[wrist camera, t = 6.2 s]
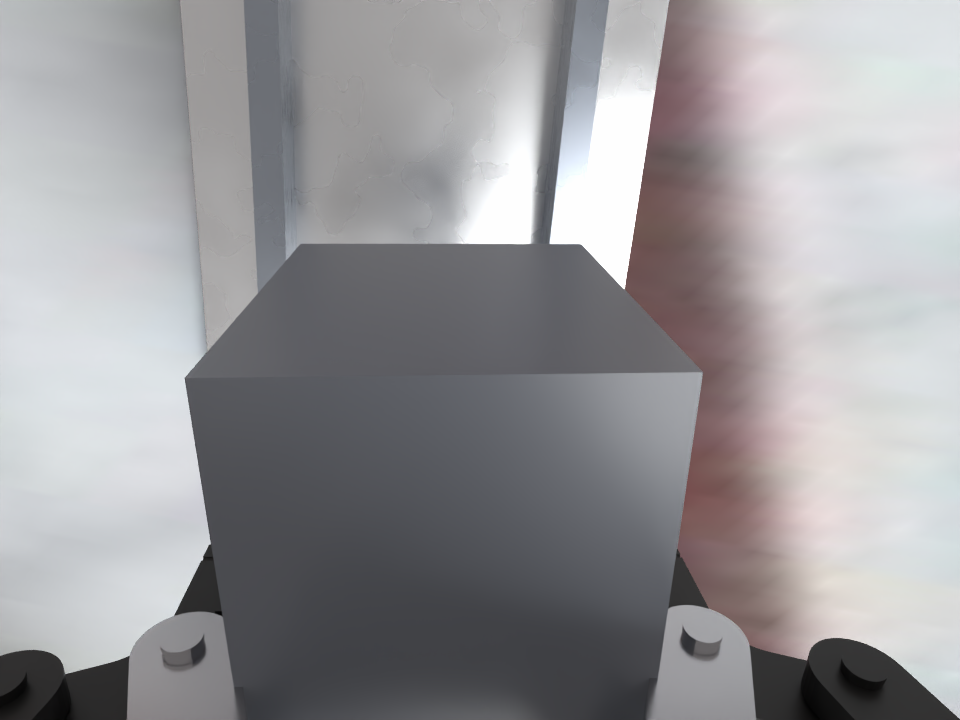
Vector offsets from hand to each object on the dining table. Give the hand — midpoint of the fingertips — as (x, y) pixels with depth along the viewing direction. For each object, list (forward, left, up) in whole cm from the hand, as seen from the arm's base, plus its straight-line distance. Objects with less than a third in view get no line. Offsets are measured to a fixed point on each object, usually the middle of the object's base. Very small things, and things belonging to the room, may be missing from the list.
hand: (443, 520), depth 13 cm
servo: (0, 0, -1) cm, 1 cm away
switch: (+1, -5, -15) cm, 16 cm away
